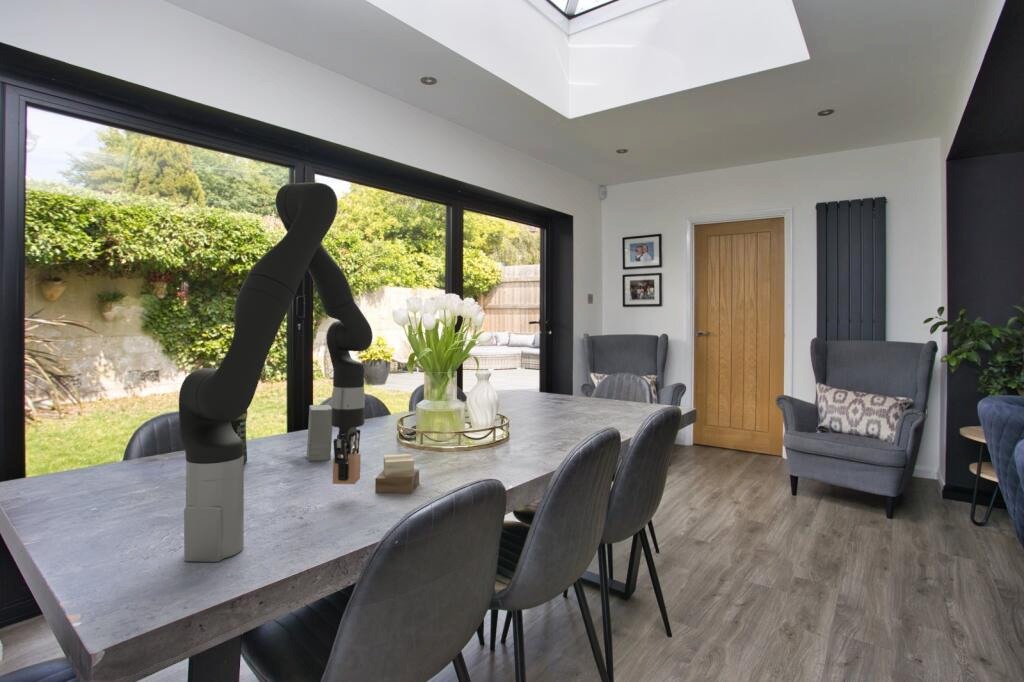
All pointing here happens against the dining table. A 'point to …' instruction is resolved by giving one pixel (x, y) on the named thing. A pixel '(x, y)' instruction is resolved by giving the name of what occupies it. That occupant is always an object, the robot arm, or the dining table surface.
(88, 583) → the dining table surface
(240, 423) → the coffee jar
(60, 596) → the dining table surface
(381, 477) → the tower base
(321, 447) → the skincare box
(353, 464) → the peach cube on top
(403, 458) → the tower middle
